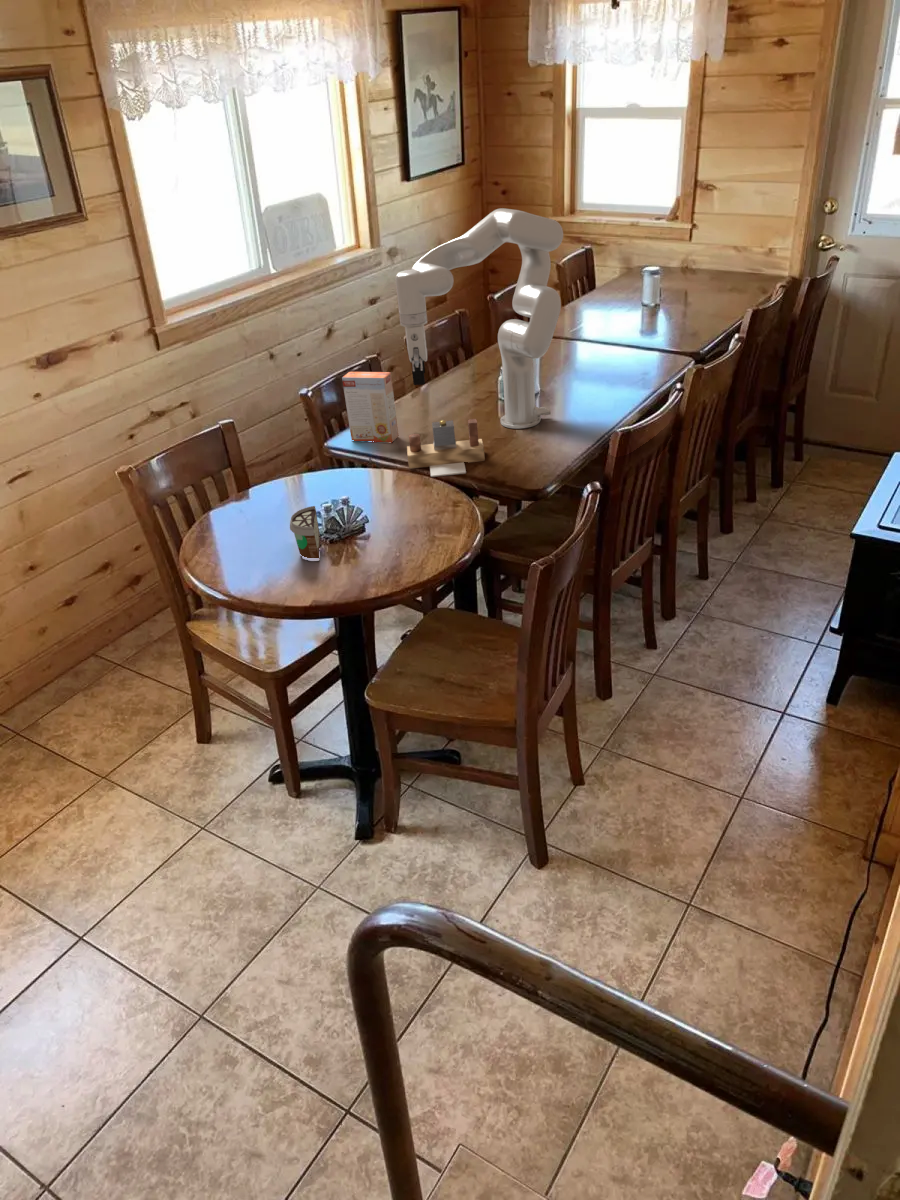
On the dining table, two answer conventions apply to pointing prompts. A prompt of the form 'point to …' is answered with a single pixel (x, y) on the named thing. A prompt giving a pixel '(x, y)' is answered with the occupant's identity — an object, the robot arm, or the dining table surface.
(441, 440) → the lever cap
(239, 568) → the dining table surface
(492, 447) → the dining table surface
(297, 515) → the lidded drink cup
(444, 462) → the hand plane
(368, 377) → the cracker box
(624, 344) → the dining table surface
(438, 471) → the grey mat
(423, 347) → the robot arm
